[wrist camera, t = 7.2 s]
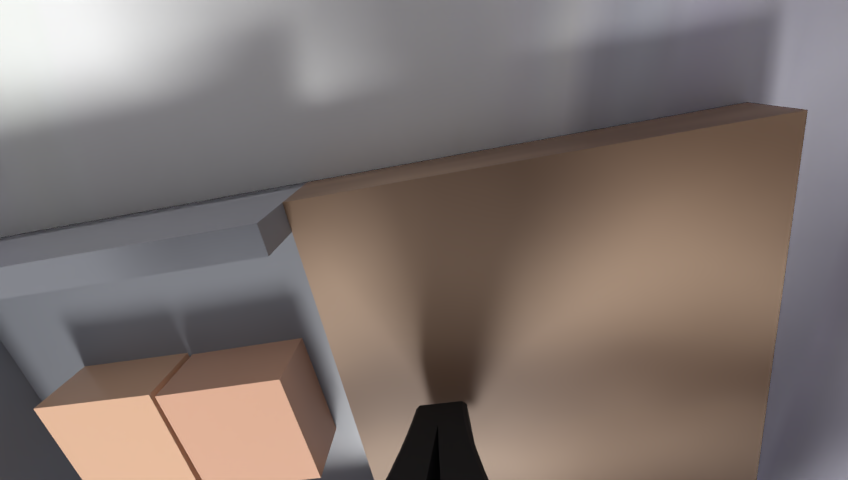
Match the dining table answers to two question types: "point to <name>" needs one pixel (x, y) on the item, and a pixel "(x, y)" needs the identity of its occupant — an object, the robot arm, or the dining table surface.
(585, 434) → the board
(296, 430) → the tile
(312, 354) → the tray
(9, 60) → the dining table surface
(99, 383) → the tile
